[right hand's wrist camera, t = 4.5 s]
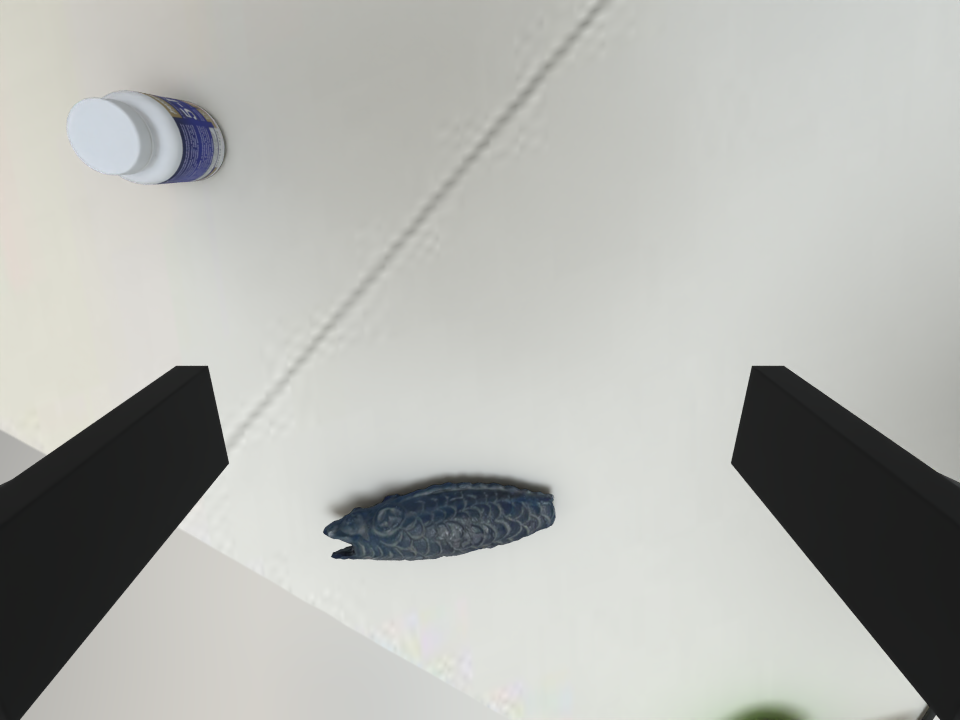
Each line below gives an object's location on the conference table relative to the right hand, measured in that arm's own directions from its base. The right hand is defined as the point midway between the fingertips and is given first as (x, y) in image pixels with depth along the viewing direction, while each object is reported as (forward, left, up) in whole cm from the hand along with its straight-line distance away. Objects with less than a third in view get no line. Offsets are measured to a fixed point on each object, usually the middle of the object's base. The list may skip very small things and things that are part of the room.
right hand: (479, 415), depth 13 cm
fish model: (+25, -5, -29) cm, 38 cm away
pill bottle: (-8, -20, -29) cm, 36 cm away
